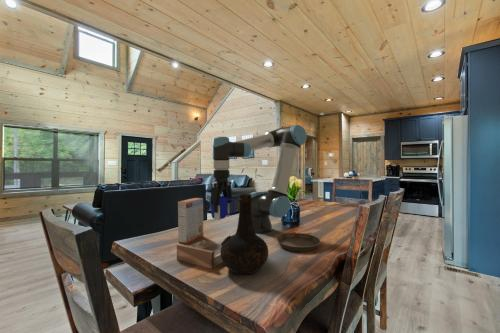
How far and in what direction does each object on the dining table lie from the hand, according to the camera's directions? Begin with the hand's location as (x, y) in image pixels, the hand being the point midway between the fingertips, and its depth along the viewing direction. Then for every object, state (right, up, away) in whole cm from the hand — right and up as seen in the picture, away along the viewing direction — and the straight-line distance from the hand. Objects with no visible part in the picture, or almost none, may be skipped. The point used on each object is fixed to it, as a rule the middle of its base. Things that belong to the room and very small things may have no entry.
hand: (222, 217), depth 114 cm
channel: (-5, -14, -12) cm, 19 cm away
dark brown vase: (+11, -14, -24) cm, 30 cm away
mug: (0, 0, 0) cm, 1 cm away
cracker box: (-18, -14, +12) cm, 25 cm away
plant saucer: (+37, -14, +2) cm, 39 cm away
